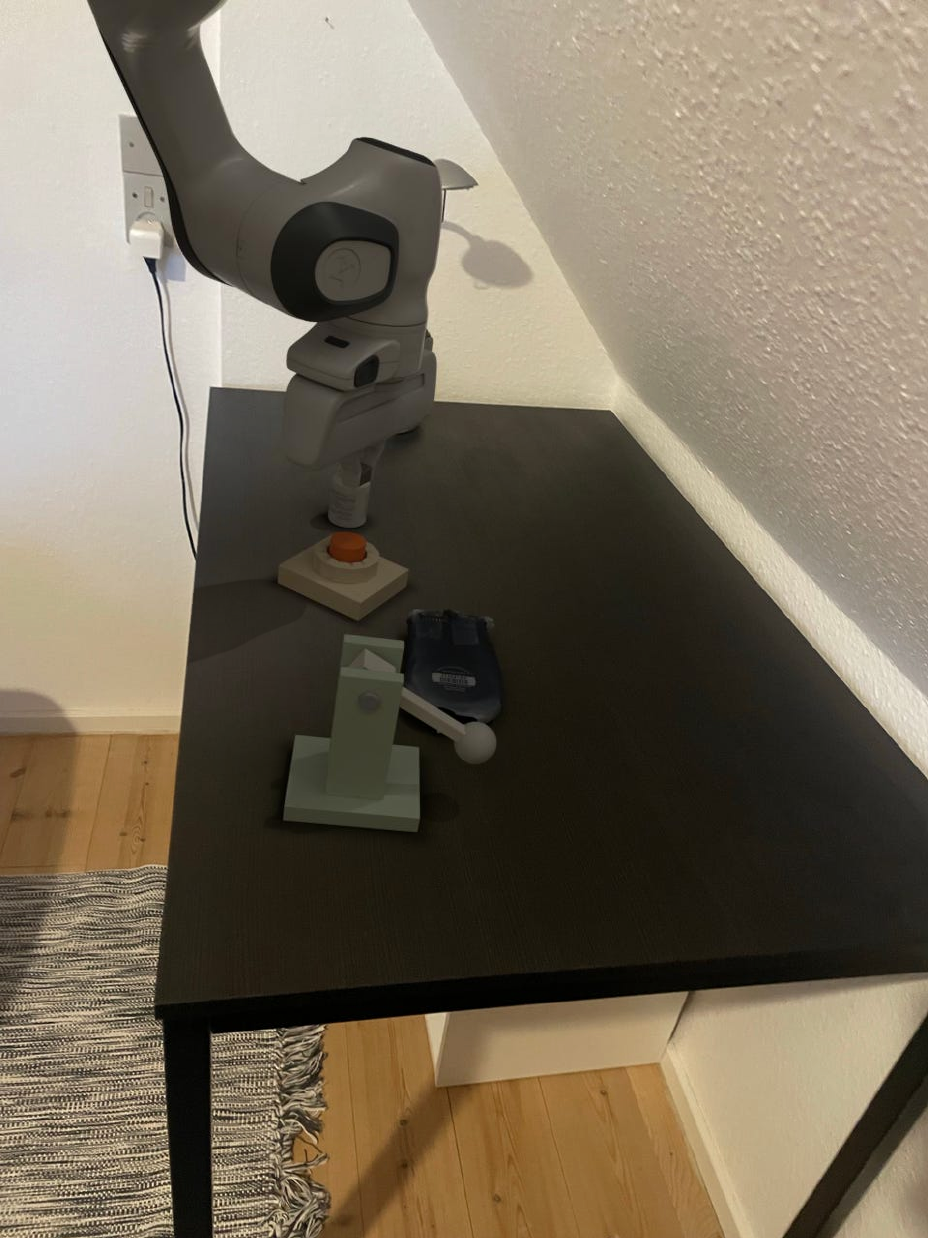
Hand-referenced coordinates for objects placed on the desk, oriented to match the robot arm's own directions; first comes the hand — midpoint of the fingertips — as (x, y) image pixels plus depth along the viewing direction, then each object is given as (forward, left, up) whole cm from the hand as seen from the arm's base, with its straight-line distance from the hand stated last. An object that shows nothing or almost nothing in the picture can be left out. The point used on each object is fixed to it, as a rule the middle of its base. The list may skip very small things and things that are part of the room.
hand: (357, 483), depth 91 cm
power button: (0, 0, -8) cm, 8 cm away
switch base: (+18, -24, -12) cm, 32 cm away
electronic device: (+16, -7, -12) cm, 22 cm away
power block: (0, 0, -12) cm, 12 cm away
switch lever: (+21, -22, -5) cm, 30 cm away
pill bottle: (-8, +12, -12) cm, 19 cm away
